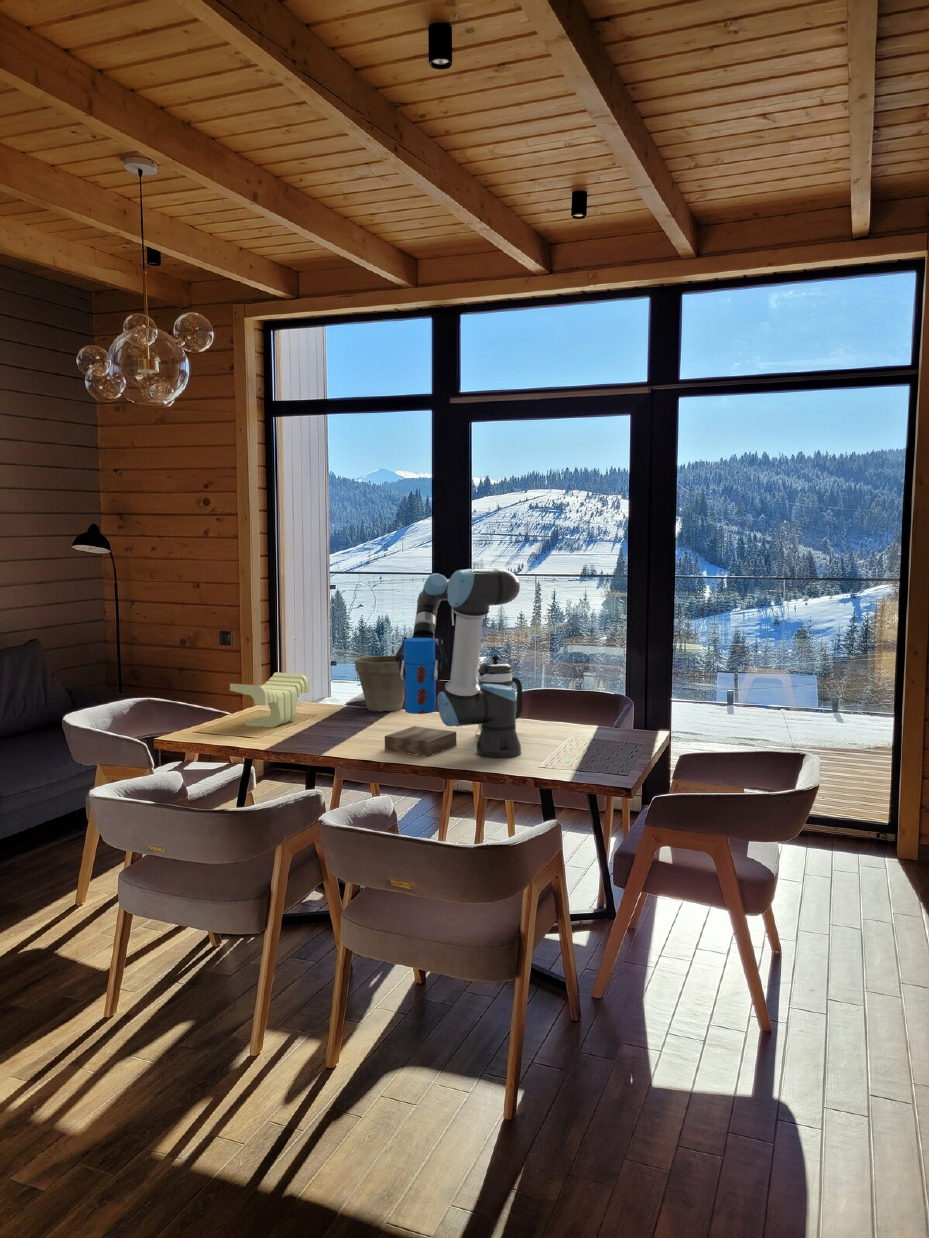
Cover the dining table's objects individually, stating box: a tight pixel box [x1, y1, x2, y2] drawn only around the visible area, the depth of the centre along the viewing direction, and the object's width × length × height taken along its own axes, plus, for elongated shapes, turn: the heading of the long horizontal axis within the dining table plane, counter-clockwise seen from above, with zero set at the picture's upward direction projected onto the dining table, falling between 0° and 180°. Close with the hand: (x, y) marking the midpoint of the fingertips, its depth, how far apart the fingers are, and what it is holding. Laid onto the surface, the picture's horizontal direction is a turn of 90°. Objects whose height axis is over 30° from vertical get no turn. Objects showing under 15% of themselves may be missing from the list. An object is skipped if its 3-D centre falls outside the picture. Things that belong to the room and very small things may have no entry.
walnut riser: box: [384, 726, 457, 757], centre depth 317 cm, size 18×18×5 cm
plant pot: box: [354, 655, 405, 713], centre depth 388 cm, size 25×25×22 cm
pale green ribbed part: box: [229, 672, 310, 728], centre depth 360 cm, size 30×16×18 cm, turn 157°
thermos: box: [403, 637, 437, 715], centre depth 316 cm, size 11×11×25 cm
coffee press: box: [475, 654, 523, 737], centre depth 335 cm, size 17×16×30 cm
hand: (418, 677), depth 313 cm, fingers closed on thermos, 11 cm apart
